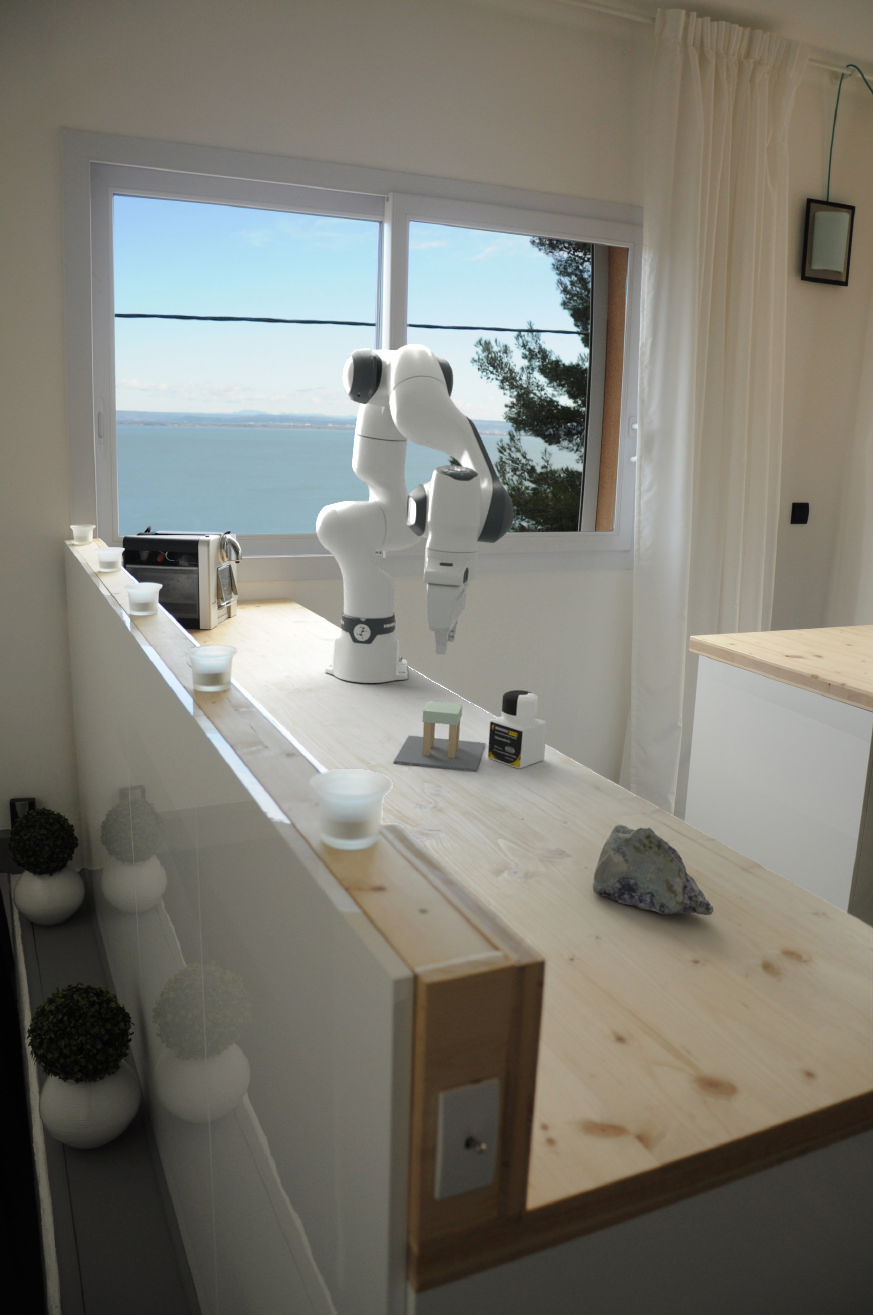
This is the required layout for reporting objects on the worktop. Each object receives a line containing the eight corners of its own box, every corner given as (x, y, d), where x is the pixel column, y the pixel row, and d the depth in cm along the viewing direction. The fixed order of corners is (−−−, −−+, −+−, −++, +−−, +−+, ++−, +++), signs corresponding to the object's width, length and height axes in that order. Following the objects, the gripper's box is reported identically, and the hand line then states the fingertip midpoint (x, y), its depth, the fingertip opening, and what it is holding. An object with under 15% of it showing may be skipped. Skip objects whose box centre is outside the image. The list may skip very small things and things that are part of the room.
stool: (426, 744, 168) (428, 701, 166) (459, 747, 167) (462, 704, 166) (420, 755, 162) (423, 710, 161) (455, 758, 162) (458, 713, 160)
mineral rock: (716, 929, 111) (726, 850, 108) (636, 941, 107) (645, 860, 105) (655, 879, 122) (664, 806, 120) (582, 889, 119) (589, 814, 116)
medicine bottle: (486, 758, 164) (491, 691, 161) (512, 749, 169) (517, 685, 166) (519, 769, 159) (524, 701, 156) (544, 760, 164) (550, 694, 162)
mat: (408, 737, 173) (408, 735, 173) (485, 745, 171) (485, 742, 171) (393, 763, 159) (393, 760, 159) (476, 771, 157) (476, 769, 157)
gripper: (441, 556, 168) (436, 632, 171) (421, 573, 148) (416, 659, 151) (476, 559, 167) (471, 635, 170) (461, 577, 147) (455, 663, 151)
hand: (445, 646), depth 161 cm, fingers open, 8 cm apart
